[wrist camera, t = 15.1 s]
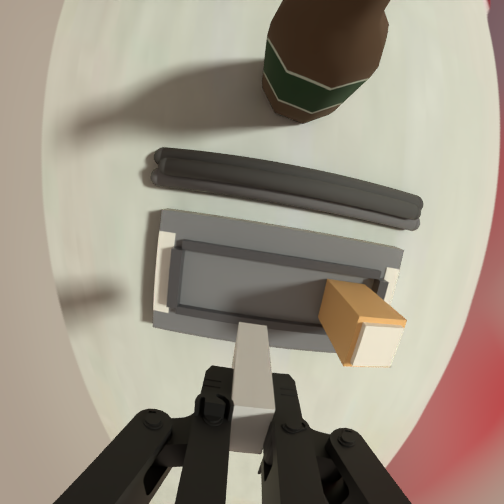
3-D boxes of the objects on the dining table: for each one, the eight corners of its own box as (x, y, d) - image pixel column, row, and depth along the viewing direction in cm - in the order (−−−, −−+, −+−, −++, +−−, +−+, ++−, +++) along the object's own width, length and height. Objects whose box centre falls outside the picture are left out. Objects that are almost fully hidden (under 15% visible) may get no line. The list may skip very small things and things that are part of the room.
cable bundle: (153, 185, 27) (141, 184, 24) (158, 148, 27) (148, 143, 24) (412, 230, 28) (428, 235, 25) (418, 197, 28) (434, 198, 25)
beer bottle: (302, 141, 27) (462, -3, 3) (244, 89, 26) (233, -124, 2) (351, 94, 26) (510, -37, 2) (296, 46, 25) (362, -137, 1)
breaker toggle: (327, 278, 27) (362, 319, 18) (364, 284, 27) (410, 323, 18) (317, 317, 28) (345, 370, 18) (354, 321, 28) (392, 371, 19)
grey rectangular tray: (167, 208, 28) (157, 210, 25) (395, 246, 29) (410, 253, 25) (158, 319, 30) (148, 332, 27) (367, 346, 31) (377, 361, 28)
